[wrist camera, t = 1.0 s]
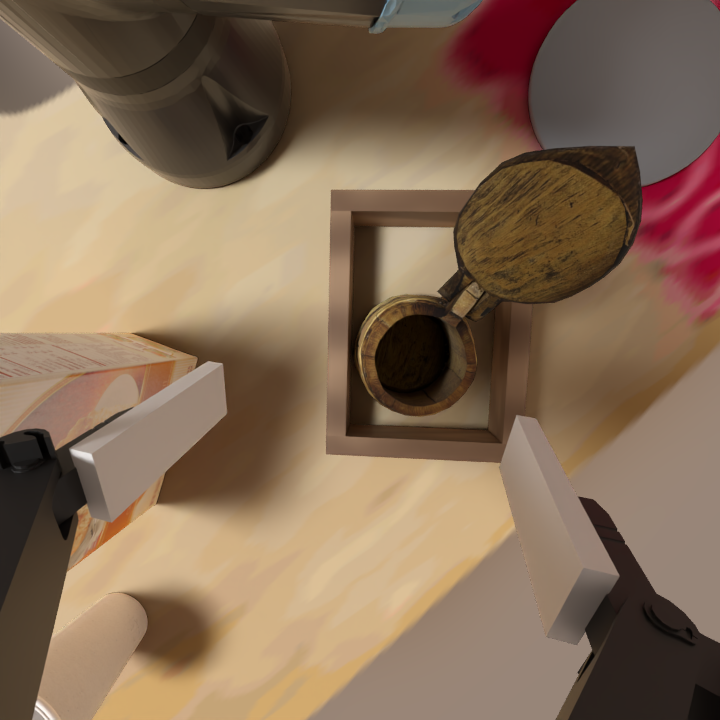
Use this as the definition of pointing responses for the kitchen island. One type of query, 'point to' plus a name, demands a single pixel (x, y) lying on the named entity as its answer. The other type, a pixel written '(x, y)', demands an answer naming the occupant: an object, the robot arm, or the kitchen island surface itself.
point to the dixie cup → (89, 658)
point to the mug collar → (340, 434)
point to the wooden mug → (503, 268)
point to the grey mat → (631, 81)
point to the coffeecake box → (83, 398)
